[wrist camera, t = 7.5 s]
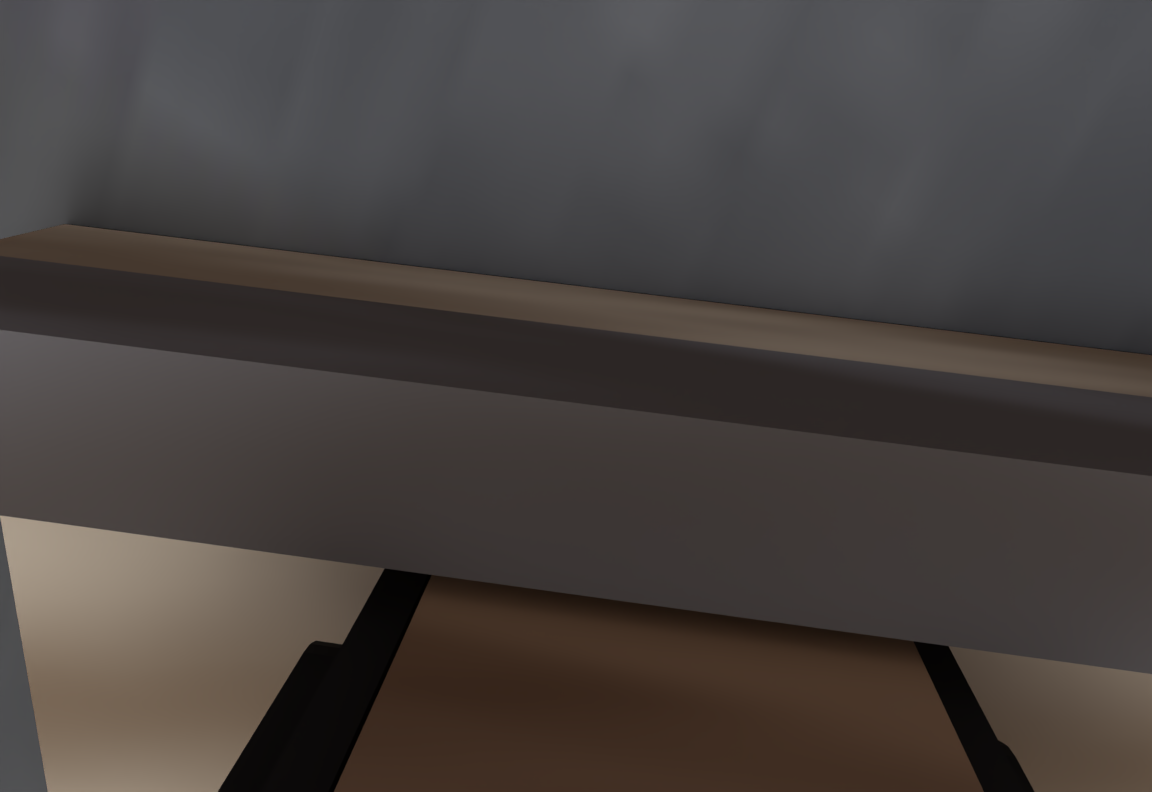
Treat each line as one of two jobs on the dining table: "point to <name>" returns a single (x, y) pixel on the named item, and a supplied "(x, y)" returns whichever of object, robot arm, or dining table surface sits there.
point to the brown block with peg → (645, 703)
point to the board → (254, 613)
